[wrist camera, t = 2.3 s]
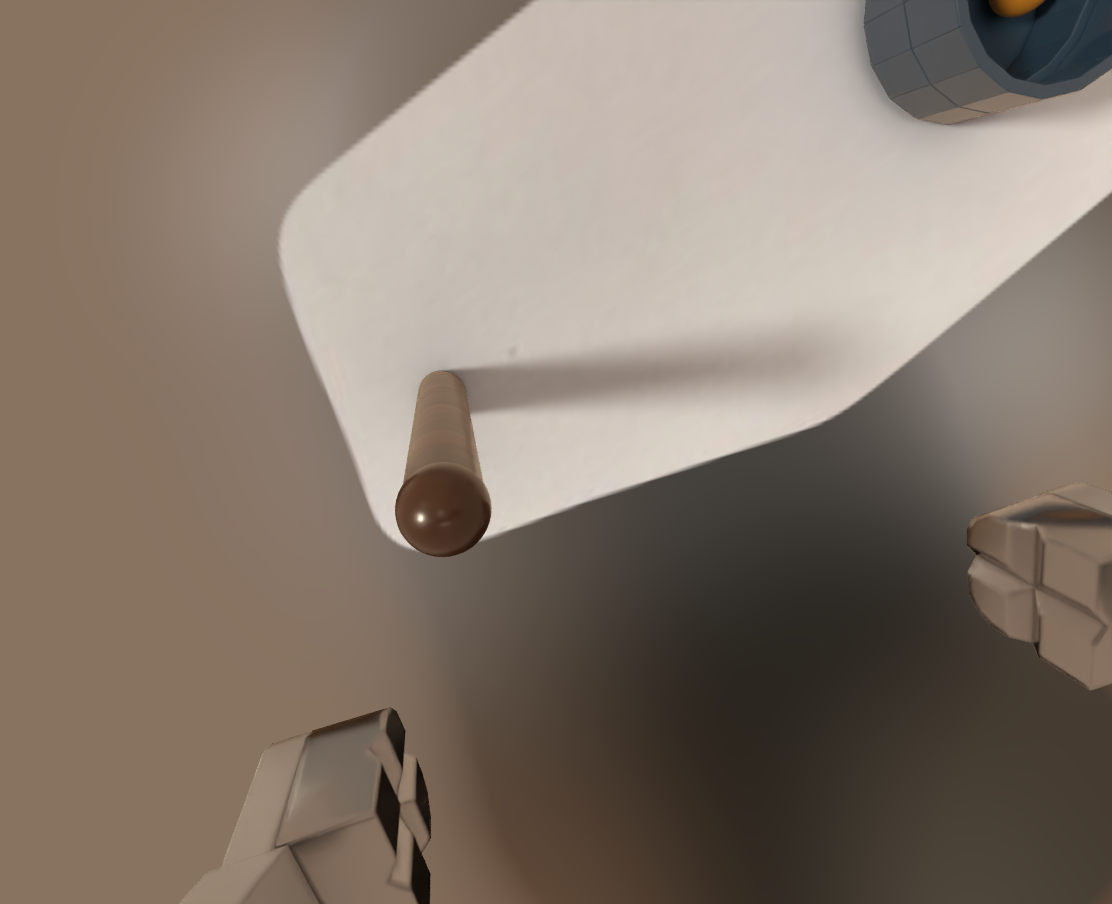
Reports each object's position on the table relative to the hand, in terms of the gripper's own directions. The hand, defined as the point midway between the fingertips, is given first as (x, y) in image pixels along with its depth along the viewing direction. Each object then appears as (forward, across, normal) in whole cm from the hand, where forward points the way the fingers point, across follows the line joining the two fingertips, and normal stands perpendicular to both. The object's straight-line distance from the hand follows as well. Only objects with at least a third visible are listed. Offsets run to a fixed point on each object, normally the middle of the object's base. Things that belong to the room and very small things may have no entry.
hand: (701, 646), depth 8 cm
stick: (+22, +4, 0) cm, 22 cm away
